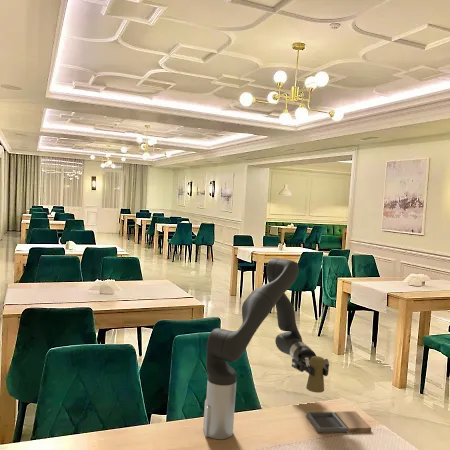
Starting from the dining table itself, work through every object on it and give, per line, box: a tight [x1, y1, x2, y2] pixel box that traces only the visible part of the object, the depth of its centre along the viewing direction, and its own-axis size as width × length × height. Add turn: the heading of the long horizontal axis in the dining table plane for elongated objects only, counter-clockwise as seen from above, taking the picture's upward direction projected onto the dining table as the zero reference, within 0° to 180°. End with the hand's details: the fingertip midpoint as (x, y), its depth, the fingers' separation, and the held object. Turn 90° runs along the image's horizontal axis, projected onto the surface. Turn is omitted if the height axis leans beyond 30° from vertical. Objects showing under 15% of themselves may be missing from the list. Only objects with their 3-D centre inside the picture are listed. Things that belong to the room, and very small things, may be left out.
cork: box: [305, 355, 325, 393], centre depth 162 cm, size 6×6×11 cm
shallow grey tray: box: [305, 411, 348, 434], centre depth 163 cm, size 10×12×2 cm
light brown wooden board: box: [333, 411, 372, 434], centre depth 165 cm, size 8×12×2 cm, turn 10°
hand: (320, 373), depth 159 cm, fingers closed on cork, 4 cm apart
